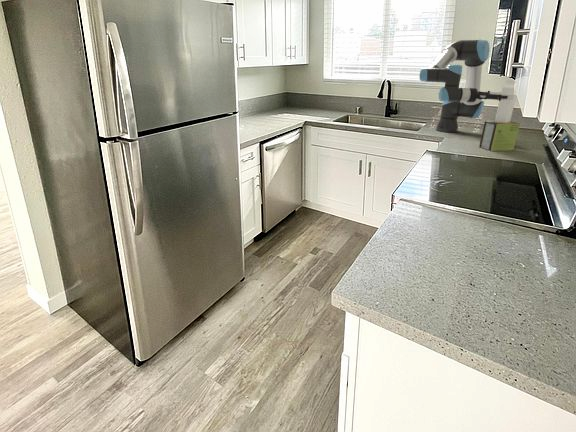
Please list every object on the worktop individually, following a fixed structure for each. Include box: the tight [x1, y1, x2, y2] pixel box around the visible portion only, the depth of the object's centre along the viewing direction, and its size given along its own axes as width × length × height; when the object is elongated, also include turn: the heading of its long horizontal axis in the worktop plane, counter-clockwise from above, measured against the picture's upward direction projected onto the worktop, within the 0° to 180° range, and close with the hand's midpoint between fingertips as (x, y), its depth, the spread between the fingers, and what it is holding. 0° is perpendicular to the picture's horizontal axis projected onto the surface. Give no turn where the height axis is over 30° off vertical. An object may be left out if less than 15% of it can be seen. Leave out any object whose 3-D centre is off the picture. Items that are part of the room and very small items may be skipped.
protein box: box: [479, 120, 521, 152], centre depth 216 cm, size 10×15×16 cm
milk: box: [494, 80, 517, 123], centre depth 209 cm, size 6×6×22 cm
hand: (507, 96), depth 207 cm, fingers open, 13 cm apart
